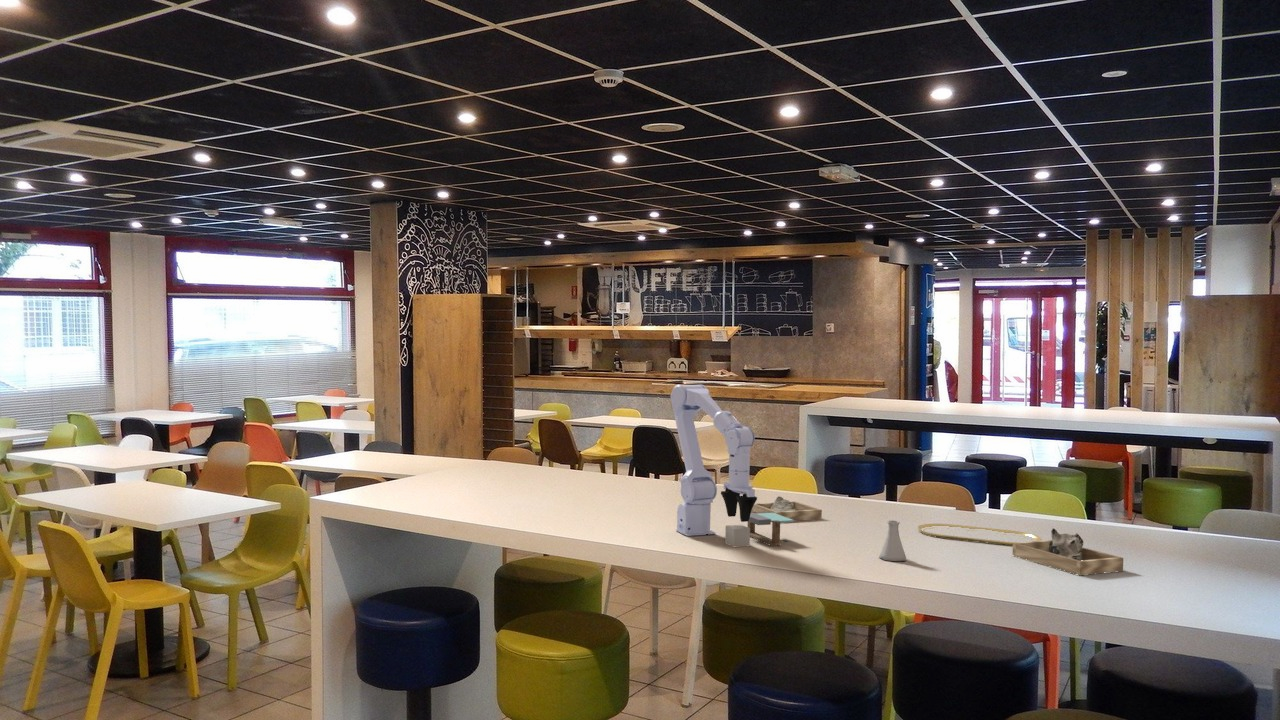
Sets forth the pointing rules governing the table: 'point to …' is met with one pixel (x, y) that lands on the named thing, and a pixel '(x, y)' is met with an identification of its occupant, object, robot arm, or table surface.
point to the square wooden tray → (800, 514)
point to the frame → (773, 541)
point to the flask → (893, 544)
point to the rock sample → (782, 505)
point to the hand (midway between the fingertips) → (738, 518)
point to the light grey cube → (737, 535)
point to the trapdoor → (767, 518)
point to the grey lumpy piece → (1066, 545)
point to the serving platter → (975, 538)
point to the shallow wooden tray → (1090, 563)
